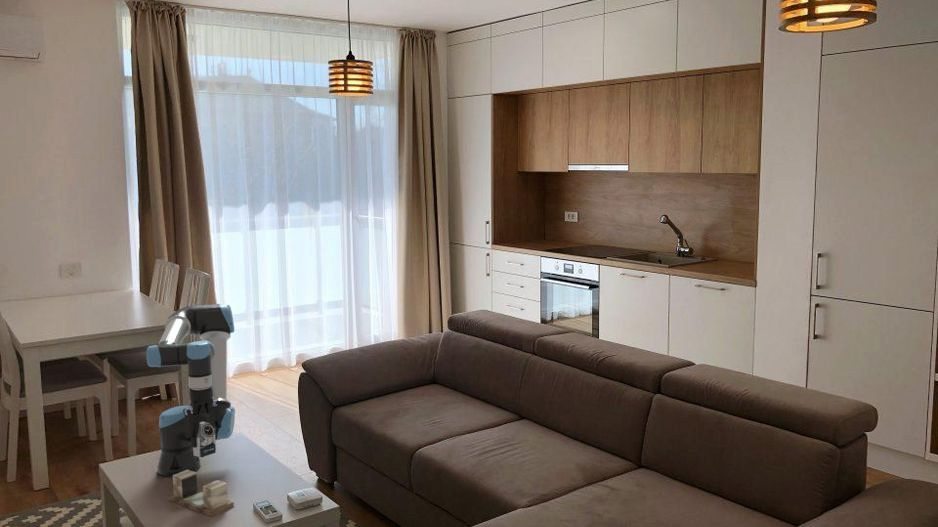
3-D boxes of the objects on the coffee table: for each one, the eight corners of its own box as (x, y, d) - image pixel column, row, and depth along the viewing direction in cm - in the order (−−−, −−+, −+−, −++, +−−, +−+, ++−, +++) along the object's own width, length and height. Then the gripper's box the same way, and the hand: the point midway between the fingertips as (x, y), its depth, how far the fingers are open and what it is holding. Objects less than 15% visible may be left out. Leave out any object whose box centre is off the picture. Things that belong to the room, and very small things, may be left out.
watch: (205, 458, 264) (203, 427, 263) (191, 453, 269) (189, 422, 267) (219, 453, 268) (217, 422, 267) (205, 449, 273) (203, 418, 272)
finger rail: (168, 499, 267) (167, 476, 266) (191, 490, 275) (189, 467, 273) (211, 516, 254) (209, 491, 253) (233, 506, 262) (232, 482, 260)
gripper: (184, 395, 256) (188, 463, 259) (230, 382, 271) (234, 446, 274) (170, 392, 260) (174, 459, 263) (216, 379, 276) (220, 443, 278)
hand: (204, 452), depth 268 cm, fingers closed on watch, 6 cm apart
